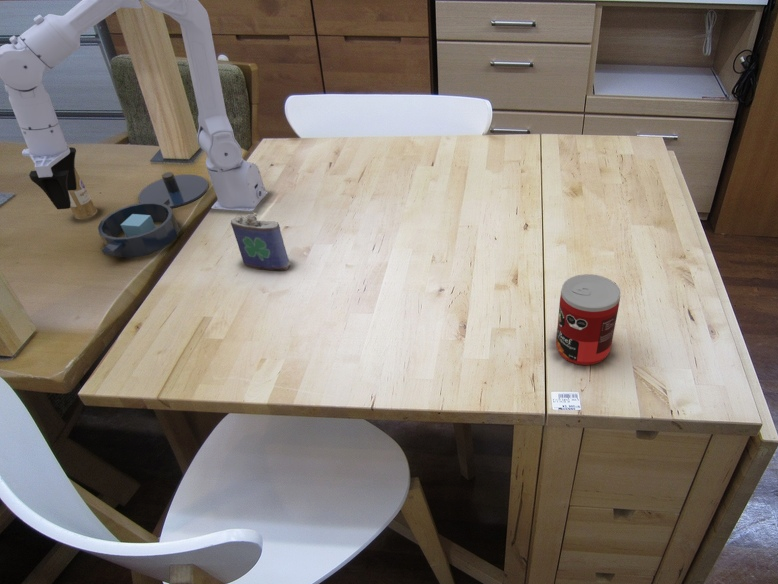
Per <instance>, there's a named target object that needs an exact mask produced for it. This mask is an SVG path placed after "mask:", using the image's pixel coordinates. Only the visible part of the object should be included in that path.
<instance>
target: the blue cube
mask: <svg viewBox="0 0 778 584" xmlns="http://www.w3.org/2000/svg"><path fill="white" fill-rule="evenodd" d="M121 227H122V229H123V231H122V232H123V233H124V235H125V237H131V236H136V235H141V234H143V233H146V232H149V231H151V230H153V229H155V228H157V226H156V224H155V221H153V220H152V217H151V215H140V214H132V215H131V216H130V217H129V218H127V219H126V220H125V221H124V222H123V223H122V224H121Z"/></svg>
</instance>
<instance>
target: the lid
mask: <svg viewBox="0 0 778 584" xmlns="http://www.w3.org/2000/svg"><path fill="white" fill-rule="evenodd" d="M208 189H209V182H208V181H207V179H206V178H204V177H203V176H201V175H198V174H197V175H196V174H187V173H185V174H176V175H175V174H174V172H171V171H169V172H164V173H162V174H161V178H160V179H158V180H155V181H154V182H151V183H149V184H148V185H147V186H146V187H143V189H141V191H140V192H139V194H138V201H139V203H144V202H155V201H156V200H157V199H158V198H161V199H169V201H170V204H169V205H168V206H169V207H170V208H171V209H175V208H179V207H183V206H186V205H188V204H190V203H193V202H195V201H197V200H198V199H200V198H201V197H202V196H204V195H205V194H206V193H207V191H208Z"/></svg>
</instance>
